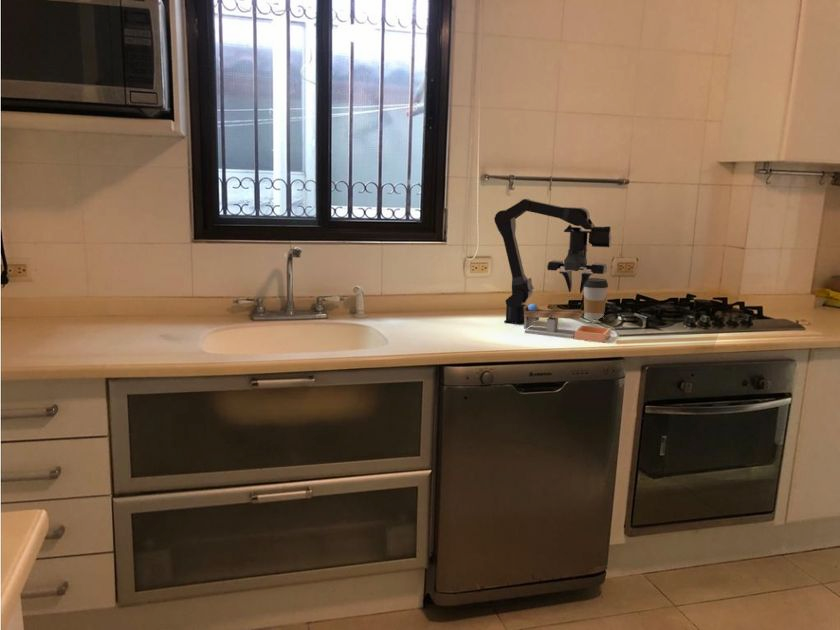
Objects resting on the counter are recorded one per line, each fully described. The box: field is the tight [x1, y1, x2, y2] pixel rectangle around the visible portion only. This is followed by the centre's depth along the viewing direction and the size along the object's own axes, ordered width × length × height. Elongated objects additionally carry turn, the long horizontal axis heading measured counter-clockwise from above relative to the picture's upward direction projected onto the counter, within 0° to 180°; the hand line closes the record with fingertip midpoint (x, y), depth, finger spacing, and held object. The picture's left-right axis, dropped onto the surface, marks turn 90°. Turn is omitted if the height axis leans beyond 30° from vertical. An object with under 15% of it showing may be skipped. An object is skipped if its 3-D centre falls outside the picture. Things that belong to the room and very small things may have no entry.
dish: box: [574, 324, 612, 344], centre depth 208 cm, size 9×9×3 cm
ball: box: [528, 303, 538, 311], centre depth 216 cm, size 3×3×3 cm
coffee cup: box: [583, 277, 609, 319], centre depth 230 cm, size 8×8×15 cm
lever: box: [524, 304, 584, 323], centre depth 215 cm, size 18×10×5 cm, turn 62°
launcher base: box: [523, 317, 577, 339], centre depth 214 cm, size 17×8×5 cm, turn 63°
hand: (575, 292), depth 221 cm, fingers open, 3 cm apart
